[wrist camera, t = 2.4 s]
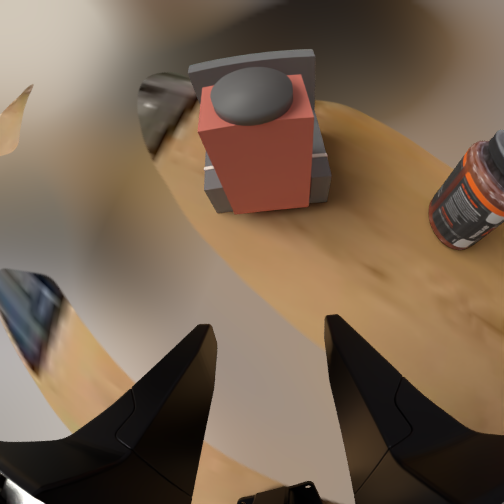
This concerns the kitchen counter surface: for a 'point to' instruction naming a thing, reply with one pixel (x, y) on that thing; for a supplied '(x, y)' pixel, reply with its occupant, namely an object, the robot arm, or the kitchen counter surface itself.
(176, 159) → the kitchen counter surface
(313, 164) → the housing
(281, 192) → the pink block with dome
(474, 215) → the supplement bottle
